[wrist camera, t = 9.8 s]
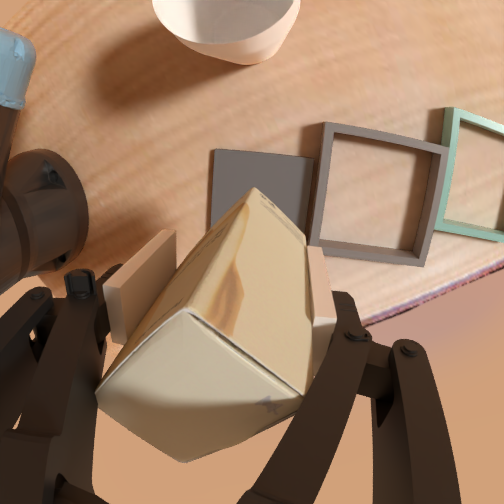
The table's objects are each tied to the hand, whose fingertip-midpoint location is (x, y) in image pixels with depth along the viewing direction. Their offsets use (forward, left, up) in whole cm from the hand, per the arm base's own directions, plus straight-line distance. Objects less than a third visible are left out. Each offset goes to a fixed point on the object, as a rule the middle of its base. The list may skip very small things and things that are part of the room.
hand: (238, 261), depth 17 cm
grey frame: (+11, +2, -14) cm, 18 cm away
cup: (-3, +16, -15) cm, 22 cm away
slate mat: (0, 0, -14) cm, 14 cm away
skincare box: (0, 0, -2) cm, 2 cm away
